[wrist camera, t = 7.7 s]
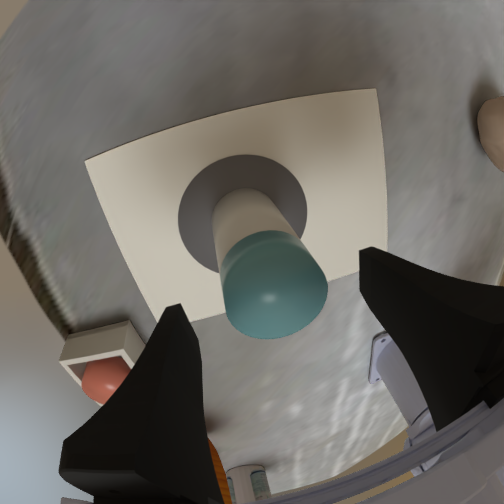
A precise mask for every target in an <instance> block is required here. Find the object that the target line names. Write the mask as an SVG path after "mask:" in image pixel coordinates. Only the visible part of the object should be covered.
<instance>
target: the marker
mask: <svg viewBox="0 0 504 504" xmlns="http://www.w3.org/2000/svg"><path fill="white" fill-rule="evenodd" d="M212 229H213V236H214V243H215V249H216V256H217V262H218V268H219V274H220V281H221V287H222V293H223V299H224V305H225V310H226V314H227V317H228V319H229V321H230V322H231V324H232V325H233V326H234V327H235V328H236V329H237V330H238V331H240V332H241V333H243V334H245V335H247V336H250V337H253V338H258V339H276V338H281V337H285V336H288V335H291V334H293V333H295V332H297V331H299V330H301V329H303V328H304V327H305V326H307V325H308V324H309V323H310V322H312V321H313V320H314V319H315V318H316V316H317V315H318V314H319V313H320V311H321V309H322V308H323V306H324V304H325V301H326V298H327V292H328V284H327V279H326V277H325V274H324V273H323V271H322V269H321V268H320V266H319V265H318V264H317V262H316V261H315V259H314V258H313V257H312V255H311V254H310V252H309V251H308V249H307V248H306V247H305V245H304V244H303V243H302V241H301V240H300V238H299V237H298V236H297V234H296V233H295V231H294V230H293V229H292V227H291V226H290V225H289V223H288V222H287V221H286V219H285V218H284V216H283V215H282V214H281V212H280V211H279V210H278V208H277V207H276V206H275V204H274V203H273V202H272V200H271V199H270V198H269V197H268V196H267V195H266V194H264V193H263V192H261V191H258V190H255V189H250V188H243V189H237V190H234V191H232V192H230V193H228V194H226V195H225V196H224V197H222V198H221V199H220V201H219V202H218V203H217V205H216V206H215V208H214V211H213V214H212Z"/></svg>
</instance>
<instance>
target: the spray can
mask: <svg viewBox="0 0 504 504" xmlns="http://www.w3.org/2000/svg"><path fill="white" fill-rule="evenodd" d="M226 476H227V482H228V487H229V491H230V496H231V500H232V504H242V503H248V502H253V501H258V500H263V499H268V498H272V496H271V492H270V488H269V485H268V481H267V477H266V473H265V470H264V468H263V467H262V466H259V465H247V466H240V467H236V468H233V469H230V470H229V471H227V475H226Z"/></svg>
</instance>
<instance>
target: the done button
mask: <svg viewBox="0 0 504 504" xmlns="http://www.w3.org/2000/svg"><path fill="white" fill-rule="evenodd" d="M130 371H131V368H130V367H129V365H128V364H127V363H126V361H125V360H124V359H122V358H120V357H117V356H114V357H109V358H104V359H99V360H93V361H88V362H87V364H86V367H85V371H84V375H83V379H82V383H81V385H82V389H83V391H84V392H85V393H86V395H88V396H89V397H90V398H91V399H93V400H95V401H96V402H98V403H101V404H103V405H104V404H105V403H106V401H107V400H108V399H109V398H110V397H111V396H112V394H113V393H114V392H115V391H116V390H117V388H118V387H119V386H120V385H121V383H122V382H123V381H124V379H125V378H126V376H127V375H128V374H129V372H130Z"/></svg>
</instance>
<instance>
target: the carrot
mask: <svg viewBox="0 0 504 504" xmlns="http://www.w3.org/2000/svg"><path fill="white" fill-rule="evenodd" d="M208 442H209V447H210V451H211V456H212V460H213V465H214V469H215V473H216V476H217V480H218V484H219V487H220V490H221V494H222V497H223V500H224V503H225V504H232V500H231V496H230V491H229V487H228V482H227V478H226V474H225V471H224V468H223V466H222V463H221V460H220V458H219V455H218V453H217V451H216V449H215V447H214V446H213V444H212V442H211V441H210V440H209V438H208Z"/></svg>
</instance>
